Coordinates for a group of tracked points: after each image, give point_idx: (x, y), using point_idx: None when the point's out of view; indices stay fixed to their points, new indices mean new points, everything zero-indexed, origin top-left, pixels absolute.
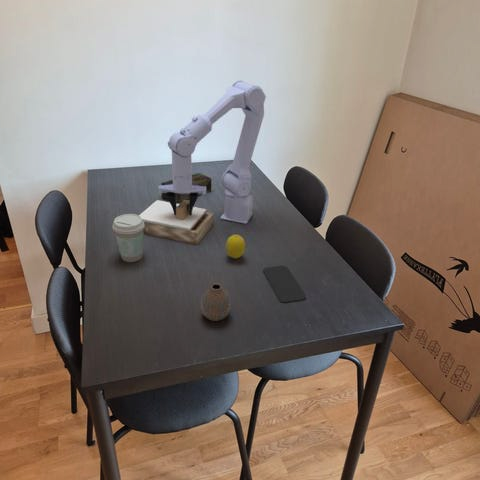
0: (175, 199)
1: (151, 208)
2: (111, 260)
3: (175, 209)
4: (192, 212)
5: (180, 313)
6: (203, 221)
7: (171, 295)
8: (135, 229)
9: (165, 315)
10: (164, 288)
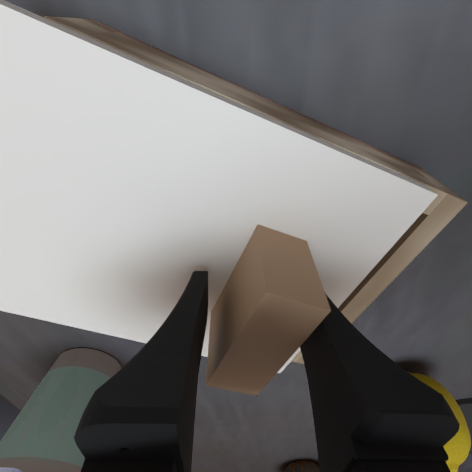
0: (192, 400)
1: None
2: (39, 377)
3: (201, 347)
4: (317, 243)
5: (243, 463)
6: (363, 290)
7: (225, 443)
8: None
9: (219, 465)
10: (208, 434)
